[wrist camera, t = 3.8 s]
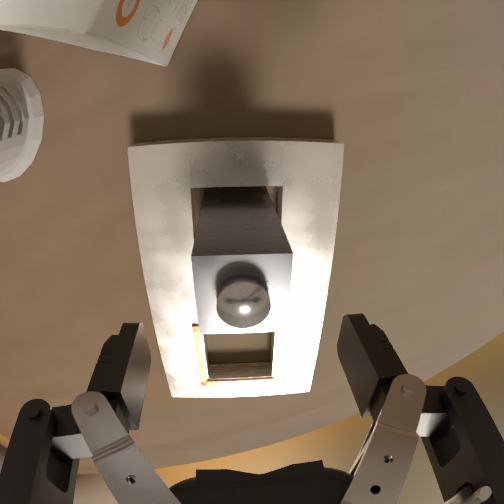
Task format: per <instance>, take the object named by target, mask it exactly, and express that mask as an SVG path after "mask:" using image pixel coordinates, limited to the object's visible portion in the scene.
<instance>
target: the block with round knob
mask: <svg viewBox="0 0 504 504" xmlns="http://www.w3.org/2000/svg"><path fill="white" fill-rule="evenodd" d="M191 262H192V272H193V282H194V292H195V301H196V310H197V319H198V327H199V334H229V333H256V332H275V331H287V324H288V313H289V302H290V290H291V278H292V265H293V251H292V249H291V246H290V244H289V241H288V239H287V236H286V234H285V232H284V229H283V227H282V224H281V222H280V219H279V217H278V215H277V212H276V210H275V207H274V205H273V203H272V200H271V198H270V196H269V193H268V191H267V189H259V190H212V191H205V194H204V198H203V202H202V207H201V211H200V216H199V220H198V225H197V230H196V234H195V239H194V244H193V249H192V254H191Z"/></svg>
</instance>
